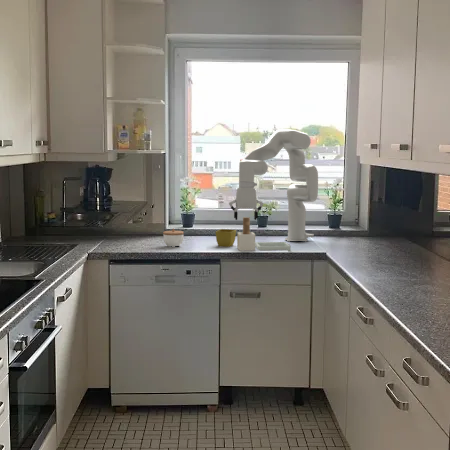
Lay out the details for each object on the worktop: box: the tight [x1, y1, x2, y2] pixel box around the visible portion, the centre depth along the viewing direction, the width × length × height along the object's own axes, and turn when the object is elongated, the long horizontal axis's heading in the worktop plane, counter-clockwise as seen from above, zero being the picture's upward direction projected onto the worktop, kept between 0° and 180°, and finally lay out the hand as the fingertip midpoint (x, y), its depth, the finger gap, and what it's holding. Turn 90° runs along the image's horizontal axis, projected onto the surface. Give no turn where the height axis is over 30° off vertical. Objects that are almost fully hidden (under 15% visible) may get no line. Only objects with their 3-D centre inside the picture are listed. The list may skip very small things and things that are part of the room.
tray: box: [255, 241, 292, 252], centre depth 327 cm, size 16×14×3 cm
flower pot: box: [215, 228, 237, 248], centre depth 332 cm, size 9×9×9 cm
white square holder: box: [236, 231, 256, 252], centre depth 321 cm, size 8×8×9 cm
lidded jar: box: [162, 228, 185, 248], centre depth 335 cm, size 11×11×9 cm
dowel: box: [242, 216, 251, 234], centre depth 321 cm, size 3×3×16 cm
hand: (245, 219), depth 320 cm, fingers open, 9 cm apart
